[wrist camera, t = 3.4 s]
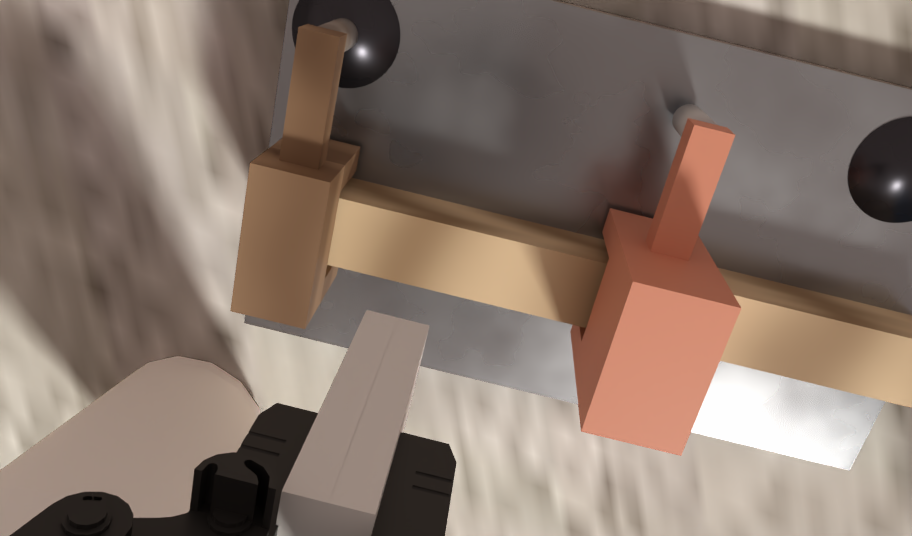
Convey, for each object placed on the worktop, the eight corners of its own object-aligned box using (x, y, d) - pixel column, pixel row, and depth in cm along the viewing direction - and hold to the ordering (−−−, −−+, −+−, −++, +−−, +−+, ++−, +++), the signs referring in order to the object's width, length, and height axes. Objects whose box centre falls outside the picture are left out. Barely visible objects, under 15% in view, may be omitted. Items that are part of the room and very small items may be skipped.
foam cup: (309, 514, 35) (196, 807, 23) (109, 510, 36) (-99, 791, 24) (283, 321, 32) (134, 548, 20) (62, 321, 33) (-209, 539, 21)
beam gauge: (267, 254, 29) (221, 308, 25) (303, 6, 26) (257, 18, 22) (870, 401, 30) (931, 481, 25) (985, 174, 26) (1078, 221, 22)
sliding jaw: (570, 331, 29) (581, 431, 23) (647, 92, 26) (683, 136, 20) (649, 351, 29) (681, 455, 23) (736, 114, 26) (799, 165, 20)
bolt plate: (254, 309, 32) (243, 323, 30) (307, -62, 26) (297, -63, 25) (838, 452, 32) (850, 471, 31) (1009, 112, 26) (1031, 119, 25)
